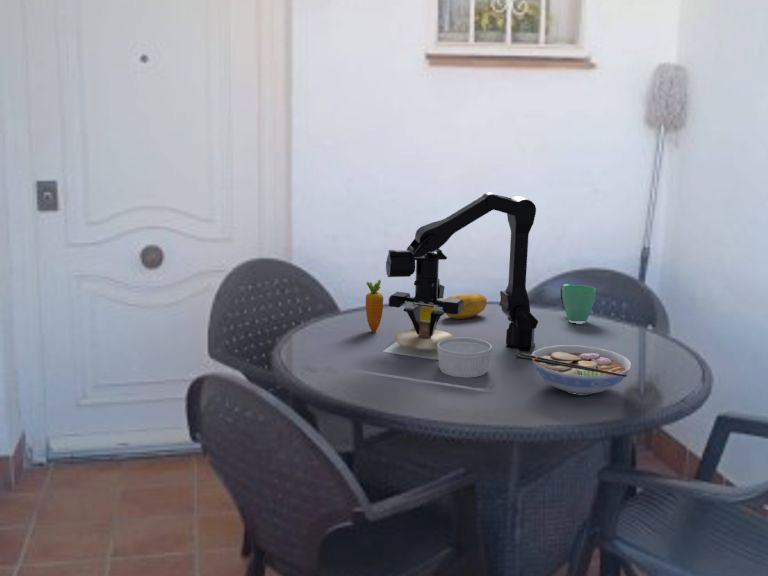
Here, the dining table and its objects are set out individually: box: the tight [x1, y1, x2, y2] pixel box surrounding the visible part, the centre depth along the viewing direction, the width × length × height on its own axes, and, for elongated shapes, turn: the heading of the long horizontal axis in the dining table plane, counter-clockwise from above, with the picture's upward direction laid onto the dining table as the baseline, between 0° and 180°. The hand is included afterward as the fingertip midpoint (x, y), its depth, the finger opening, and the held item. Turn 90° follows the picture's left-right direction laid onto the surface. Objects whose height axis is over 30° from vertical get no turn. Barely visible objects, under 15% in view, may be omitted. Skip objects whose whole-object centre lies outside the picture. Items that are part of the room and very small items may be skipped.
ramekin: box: [437, 336, 493, 379], centre depth 224 cm, size 13×13×7 cm
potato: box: [445, 293, 487, 320], centre depth 272 cm, size 7×14×7 cm, turn 118°
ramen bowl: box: [515, 344, 632, 395], centre depth 213 cm, size 25×23×8 cm
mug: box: [560, 283, 598, 322], centre depth 272 cm, size 15×10×10 cm
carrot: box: [365, 279, 384, 333], centre depth 253 cm, size 5×5×15 cm
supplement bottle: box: [411, 302, 438, 330], centre depth 253 cm, size 7×7×13 cm
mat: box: [382, 341, 439, 361], centre depth 240 cm, size 18×14×1 cm
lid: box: [395, 320, 455, 349], centre depth 239 cm, size 15×15×5 cm
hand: (425, 335), depth 239 cm, fingers closed on lid, 3 cm apart
